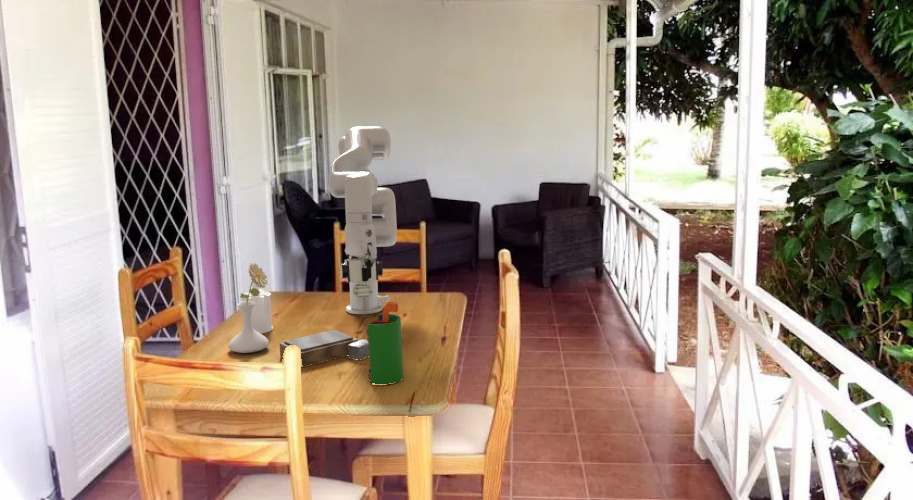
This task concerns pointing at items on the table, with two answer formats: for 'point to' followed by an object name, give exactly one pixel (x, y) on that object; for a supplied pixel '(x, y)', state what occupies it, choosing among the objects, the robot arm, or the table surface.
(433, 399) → the table surface
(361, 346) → the grey rectangular block
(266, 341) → the flower in vase
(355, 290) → the pneumatic valve
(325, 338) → the stand
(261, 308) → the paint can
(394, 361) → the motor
